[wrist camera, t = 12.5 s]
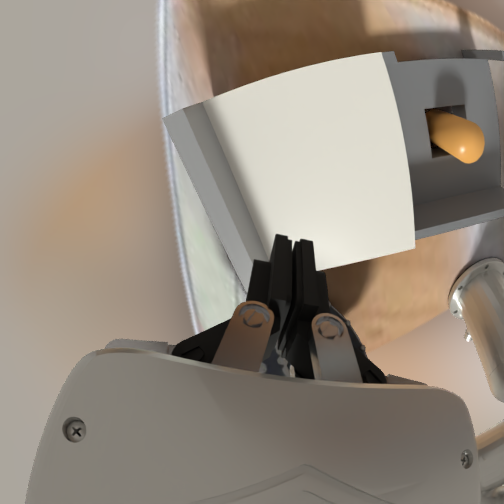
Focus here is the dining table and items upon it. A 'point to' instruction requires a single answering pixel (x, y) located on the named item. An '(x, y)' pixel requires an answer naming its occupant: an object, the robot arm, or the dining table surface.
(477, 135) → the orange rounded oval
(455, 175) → the housing
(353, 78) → the lid
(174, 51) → the dining table surface
